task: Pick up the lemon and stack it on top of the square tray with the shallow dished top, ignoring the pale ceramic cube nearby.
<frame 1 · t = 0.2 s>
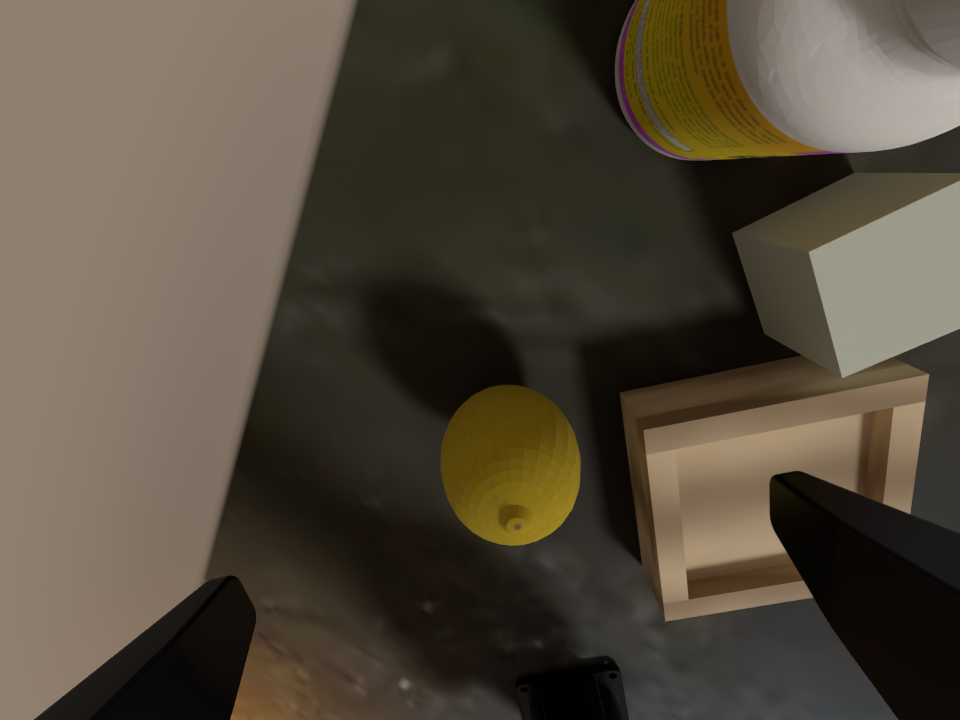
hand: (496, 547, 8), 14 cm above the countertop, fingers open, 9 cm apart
ceramic cube: (805, 257, 20), on the countertop
supplement bottle: (698, 64, 18), on the countertop
square tray: (740, 465, 24), on the countertop
lemon: (504, 408, 23), on the countertop
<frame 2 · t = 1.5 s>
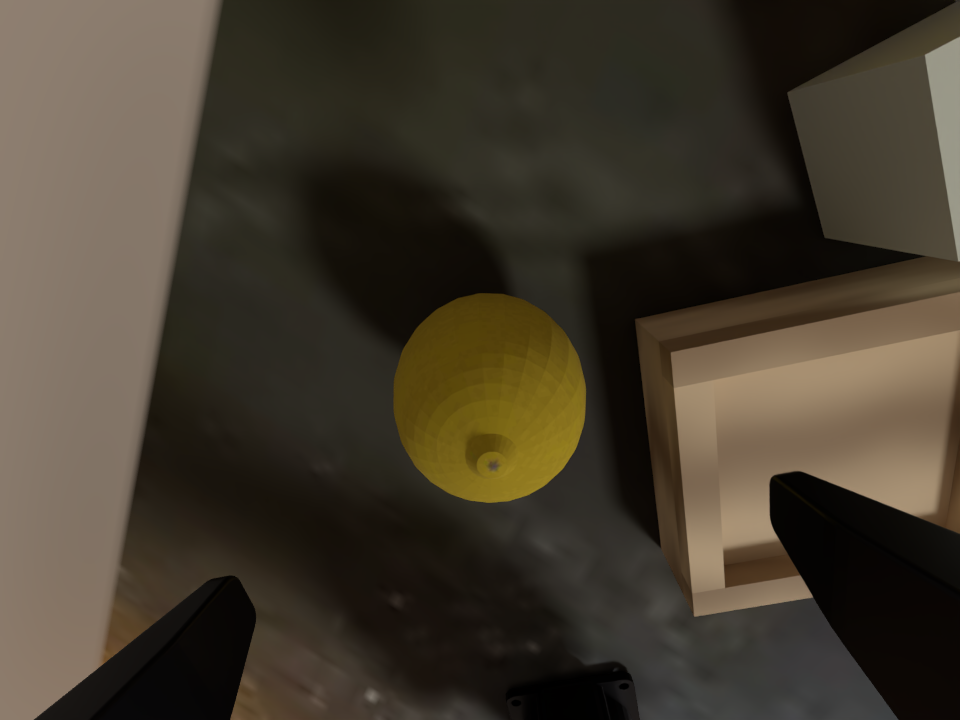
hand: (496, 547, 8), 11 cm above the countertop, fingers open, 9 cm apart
ceramic cube: (882, 129, 15), on the countertop
square tray: (787, 418, 19), on the countertop
lemon: (487, 342, 18), on the countertop
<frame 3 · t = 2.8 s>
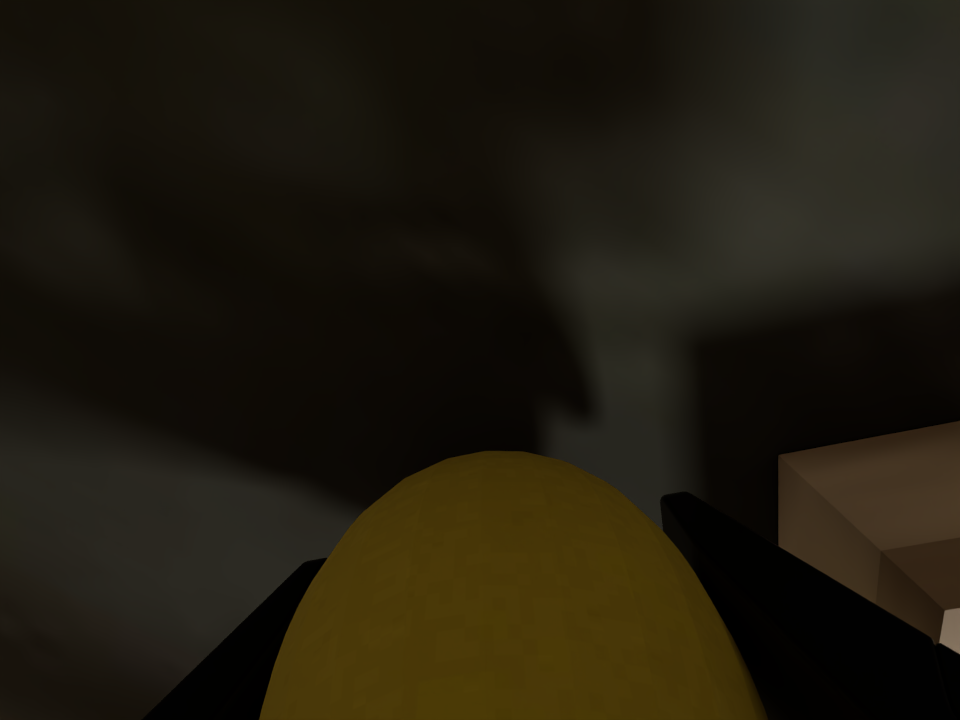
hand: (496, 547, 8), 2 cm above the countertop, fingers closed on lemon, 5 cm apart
lemon: (495, 490, 10), on the countertop, touching gripper
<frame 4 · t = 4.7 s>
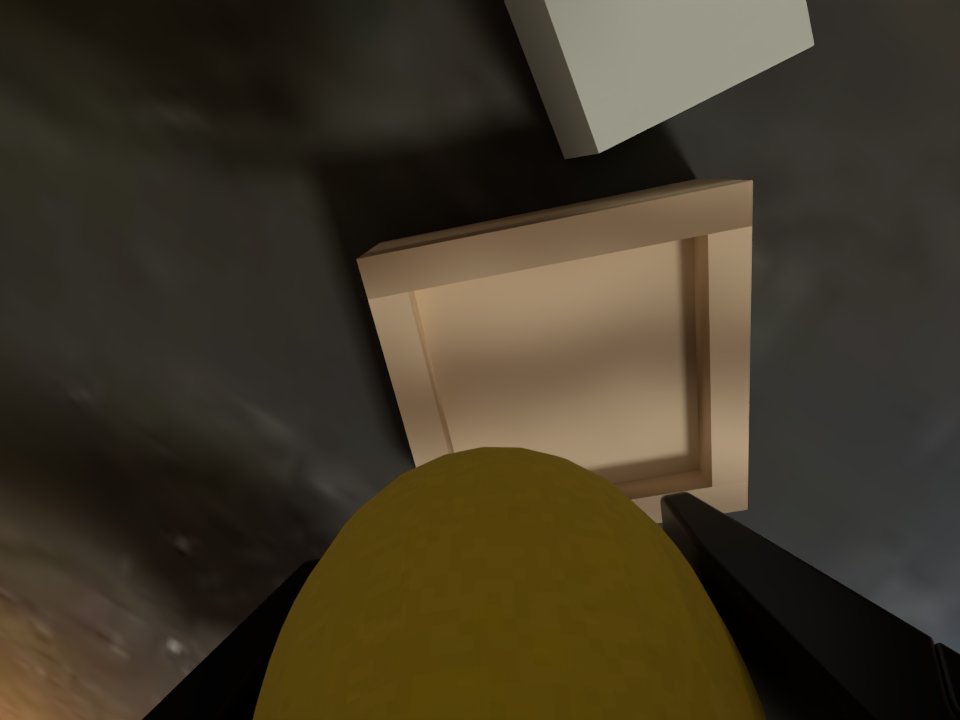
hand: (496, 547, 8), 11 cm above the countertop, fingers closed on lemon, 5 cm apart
ceramic cube: (609, 41, 15), on the countertop
square tray: (556, 357, 18), on the countertop
lemon: (493, 487, 10), point 9 cm above the countertop, touching gripper
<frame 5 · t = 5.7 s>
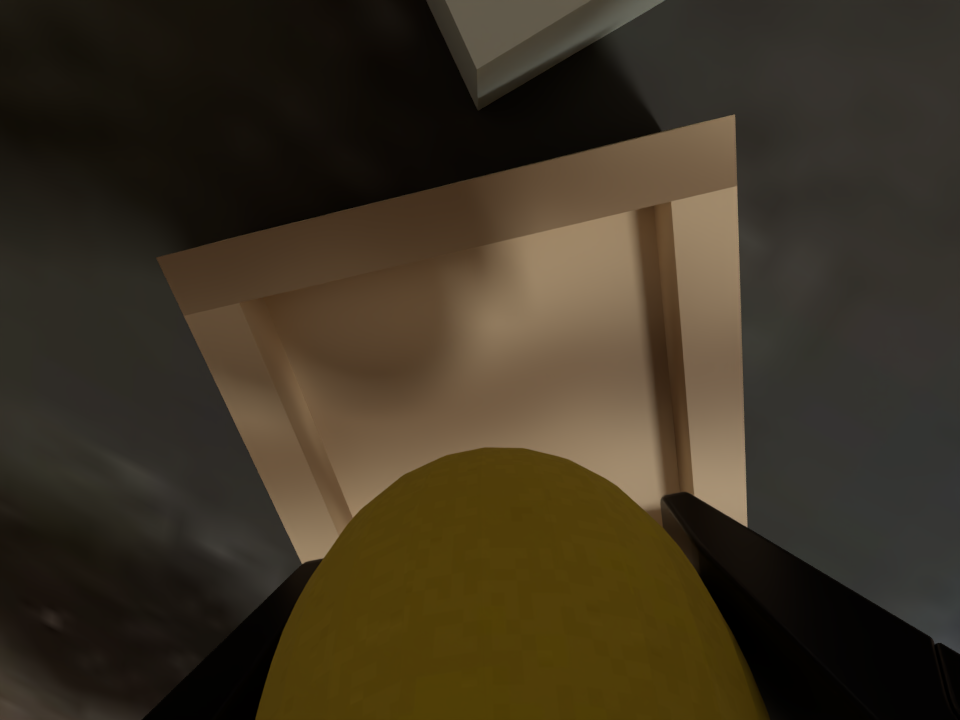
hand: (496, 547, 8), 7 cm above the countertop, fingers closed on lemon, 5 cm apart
square tray: (491, 379, 14), on the countertop
lemon: (495, 487, 10), point 5 cm above the countertop, touching gripper
when the fingers open (5 cm above the countertop, at t = 6.4 s): lemon drops 1 cm, resting on square tray.
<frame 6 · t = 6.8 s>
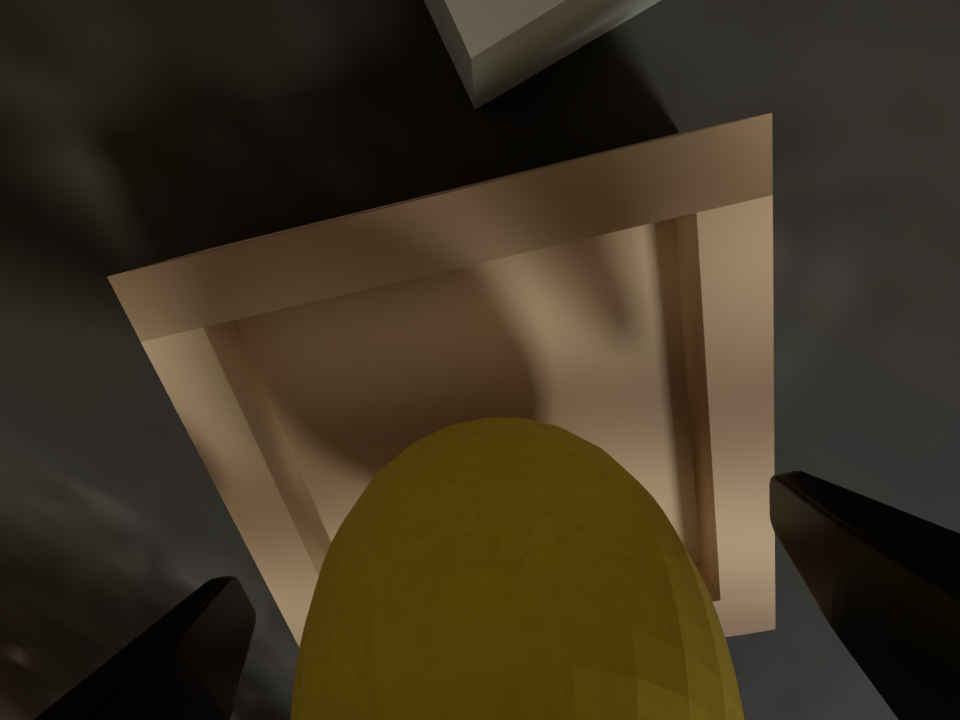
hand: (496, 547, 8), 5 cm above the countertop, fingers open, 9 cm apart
square tray: (490, 402, 13), on the countertop
lemon: (492, 459, 11), point 2 cm above the countertop, touching square tray
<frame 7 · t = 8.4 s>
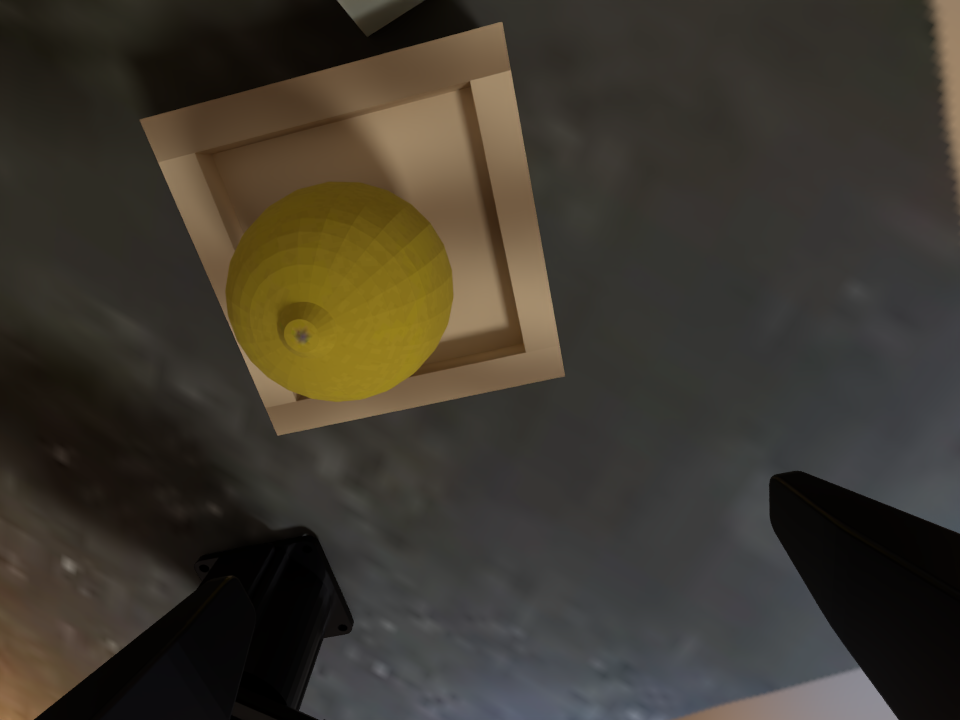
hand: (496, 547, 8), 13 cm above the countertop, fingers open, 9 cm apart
square tray: (391, 245, 19), on the countertop
lemon: (380, 262, 17), point 2 cm above the countertop, touching square tray
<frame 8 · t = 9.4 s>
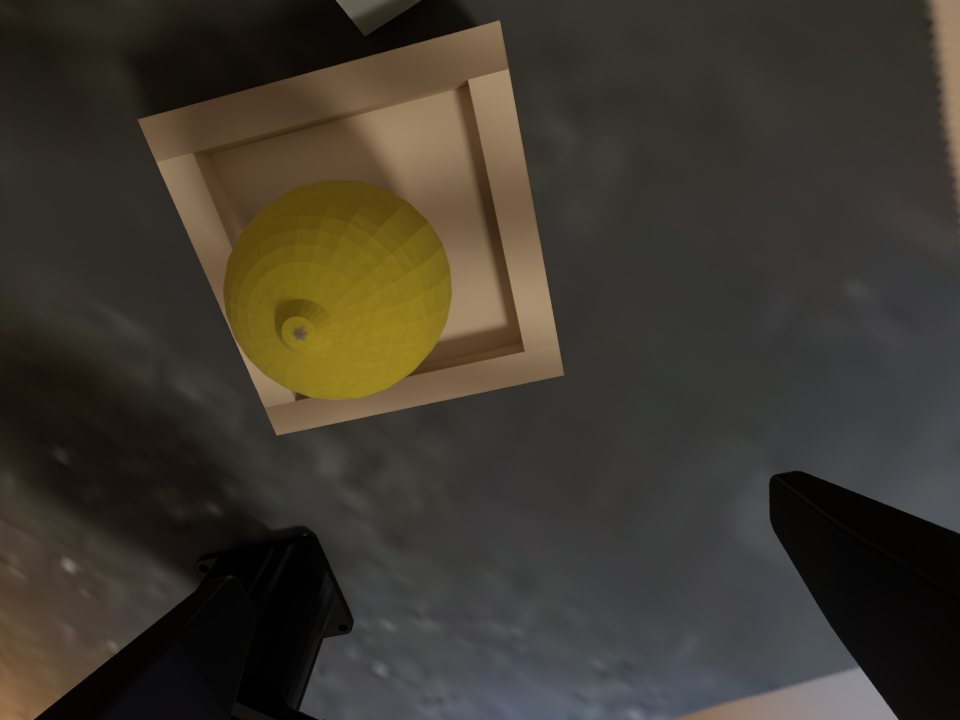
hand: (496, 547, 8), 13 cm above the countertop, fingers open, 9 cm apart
square tray: (390, 245, 19), on the countertop
lemon: (379, 262, 17), point 2 cm above the countertop, touching square tray
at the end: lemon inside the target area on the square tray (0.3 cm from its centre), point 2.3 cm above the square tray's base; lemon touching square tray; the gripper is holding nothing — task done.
